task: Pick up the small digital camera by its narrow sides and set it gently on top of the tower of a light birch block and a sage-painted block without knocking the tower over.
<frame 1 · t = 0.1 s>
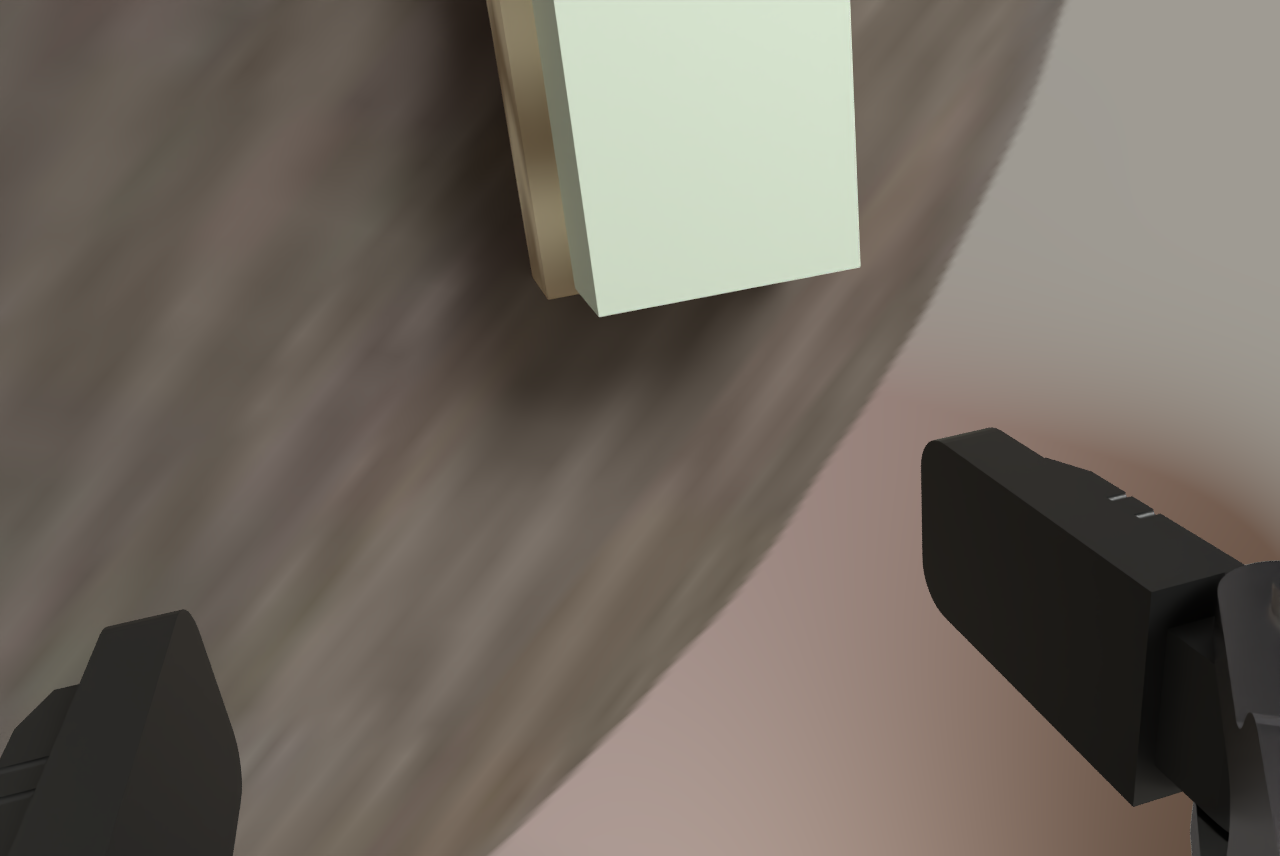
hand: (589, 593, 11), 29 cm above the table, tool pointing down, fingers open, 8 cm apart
block bottom: (647, 78, 38), on the table, touching block top
block top: (678, 92, 35), point 4 cm above the table, touching block bottom
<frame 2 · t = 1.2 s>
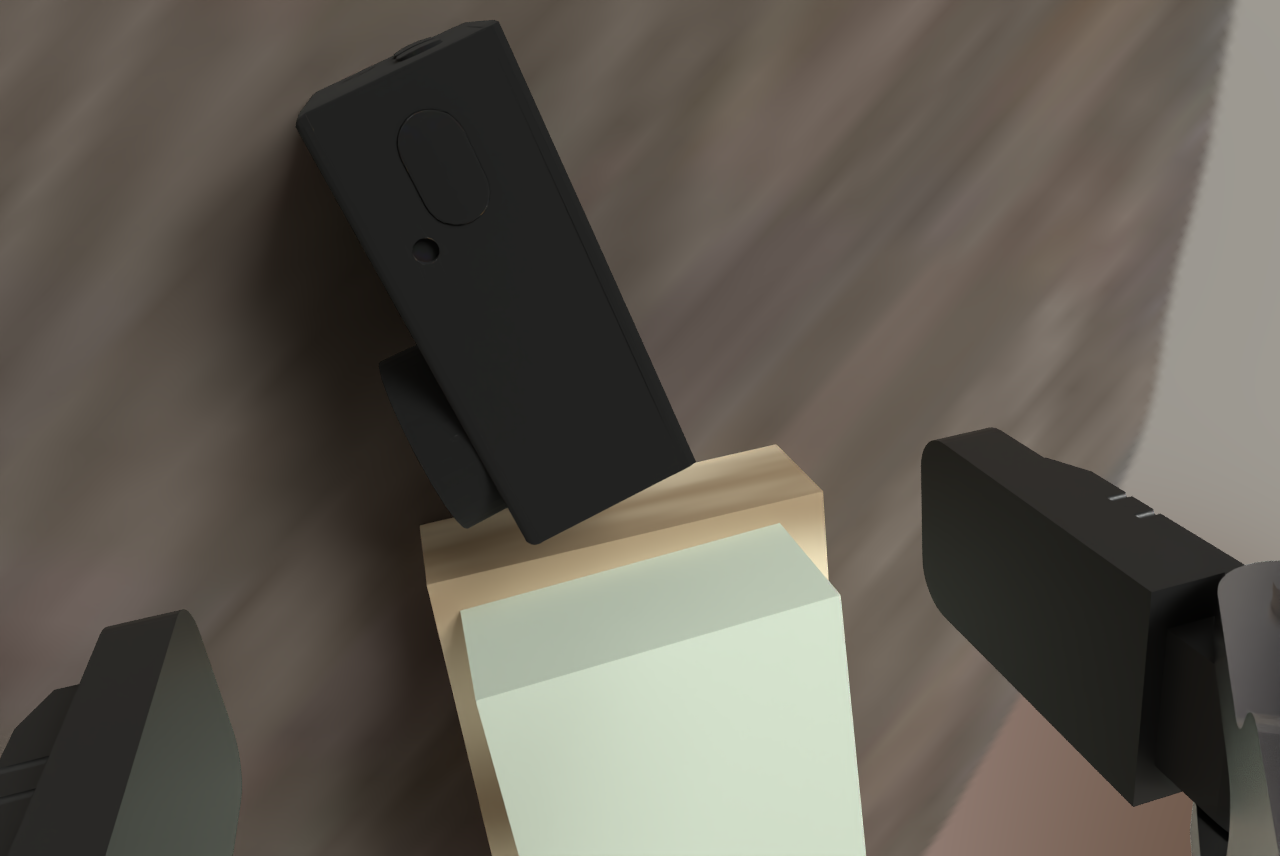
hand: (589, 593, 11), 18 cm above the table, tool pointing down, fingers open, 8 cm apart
block bottom: (628, 654, 34), on the table, touching block top
digital camera: (458, 252, 28), on the table
block top: (658, 739, 30), point 3 cm above the table, touching block bottom
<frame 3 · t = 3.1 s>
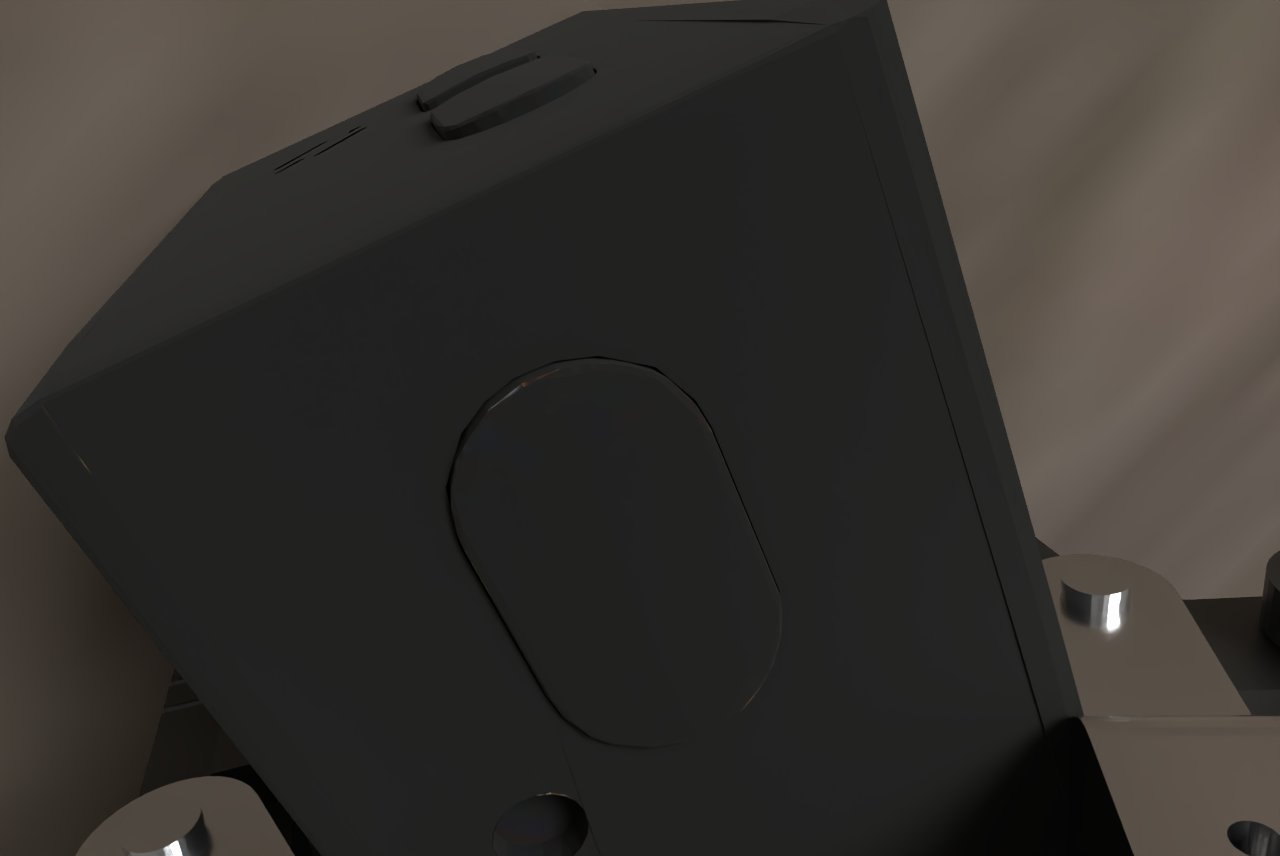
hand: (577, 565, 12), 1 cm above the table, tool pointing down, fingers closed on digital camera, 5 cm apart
digital camera: (544, 507, 13), on the table, touching gripper
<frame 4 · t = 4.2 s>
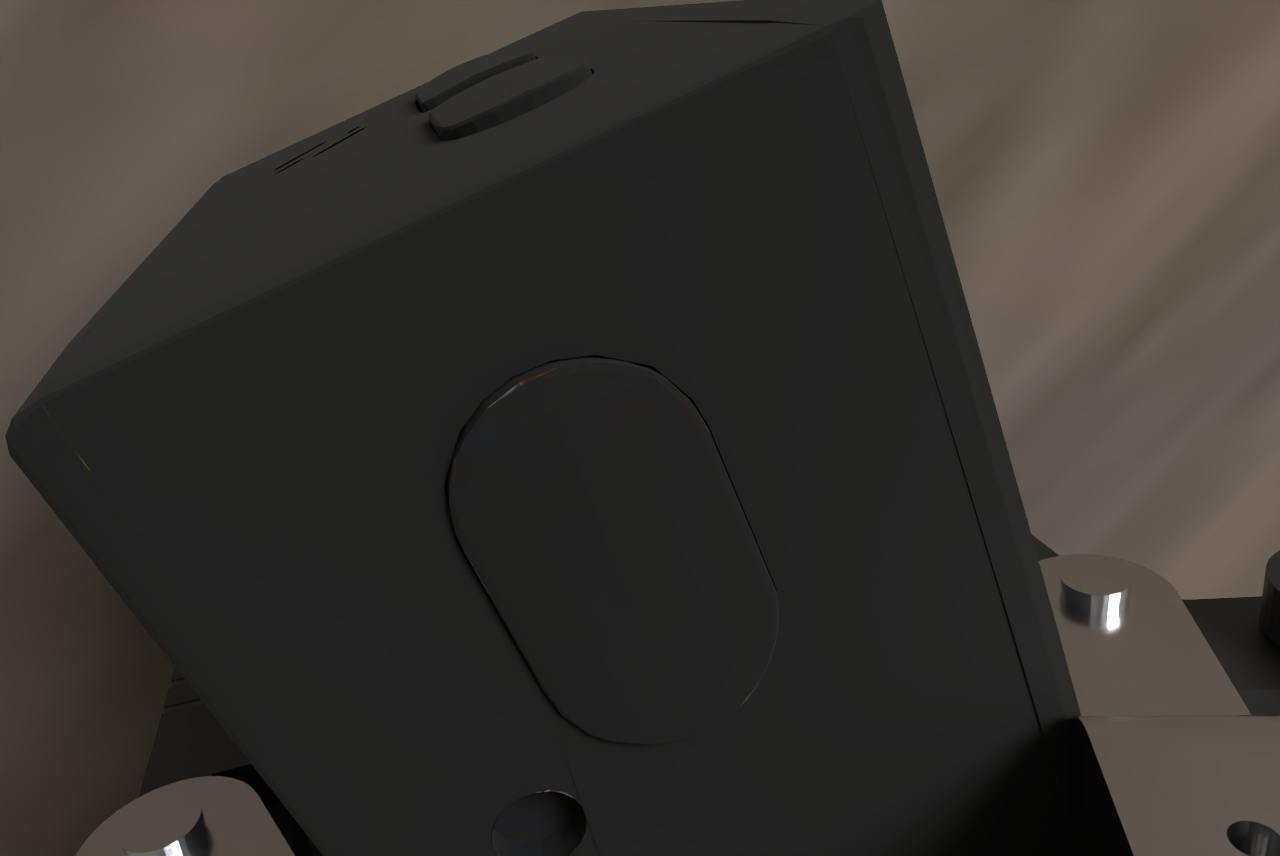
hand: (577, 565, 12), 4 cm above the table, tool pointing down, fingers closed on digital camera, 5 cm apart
digital camera: (543, 507, 13), point 3 cm above the table, touching gripper
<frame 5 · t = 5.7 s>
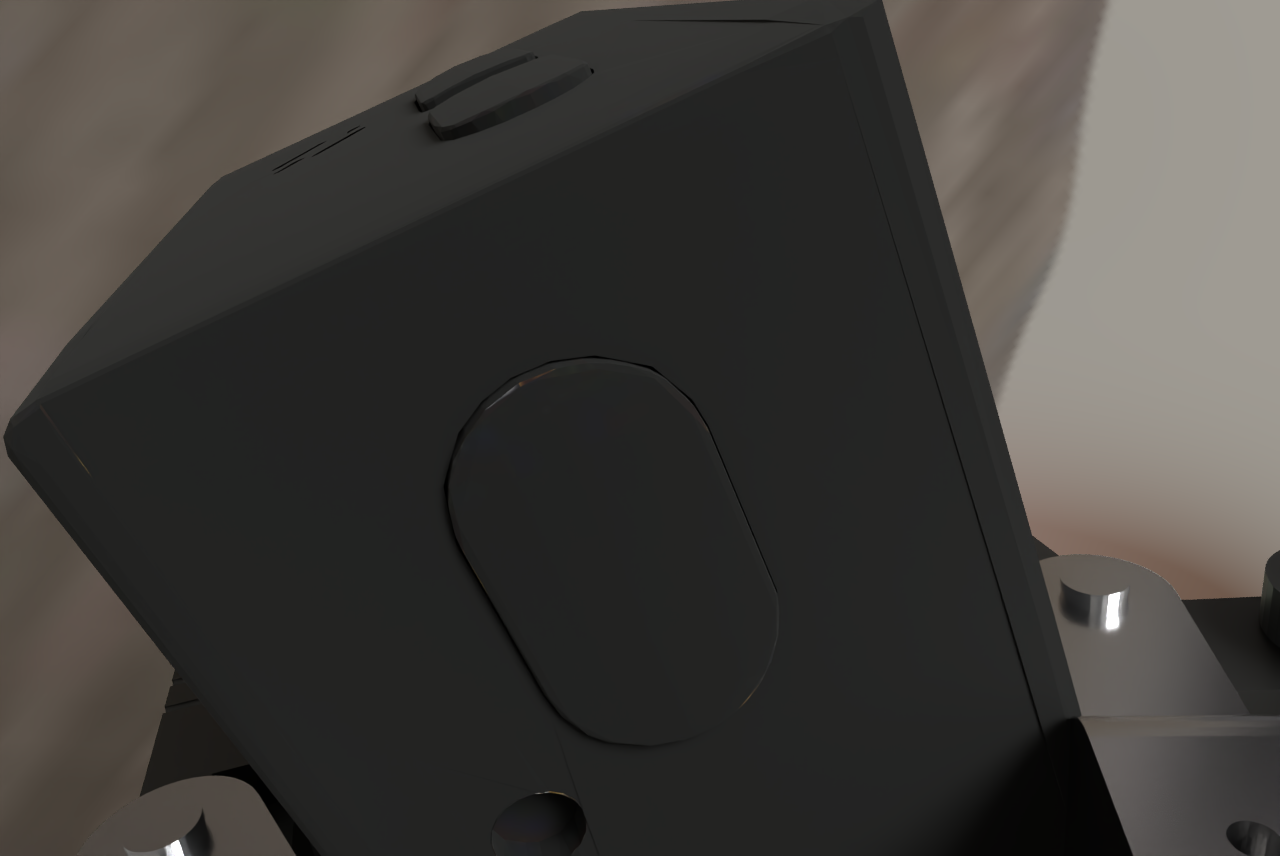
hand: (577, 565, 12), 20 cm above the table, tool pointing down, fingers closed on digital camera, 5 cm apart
digital camera: (543, 507, 13), point 19 cm above the table, touching gripper
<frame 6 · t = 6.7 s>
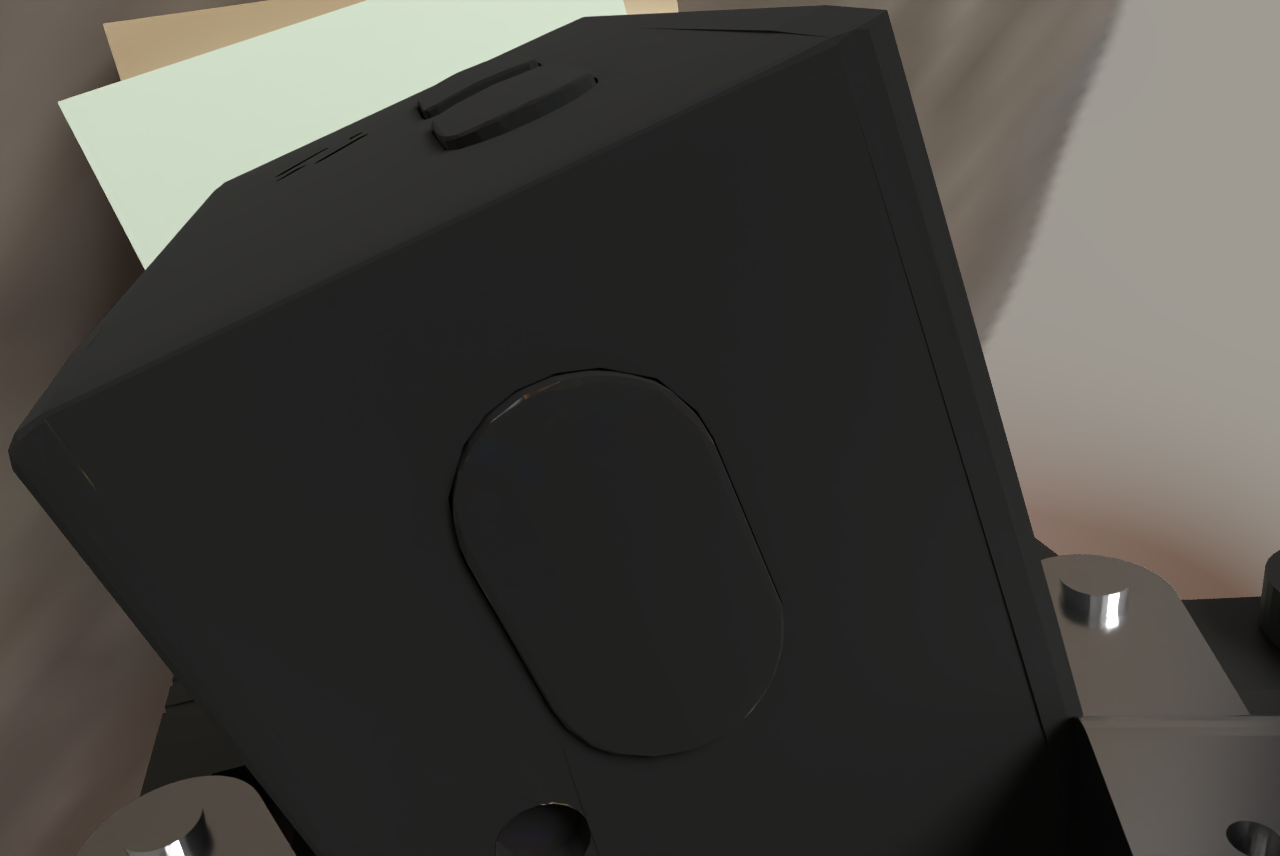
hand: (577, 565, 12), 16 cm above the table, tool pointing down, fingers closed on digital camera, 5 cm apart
block bottom: (451, 263, 26), on the table
digital camera: (545, 512, 13), point 14 cm above the table, touching gripper
block top: (453, 296, 23), point 4 cm above the table
when the fingers open (10 cm above the table, at t = 8.2 s): digital camera drops 2 cm, resting on block top.
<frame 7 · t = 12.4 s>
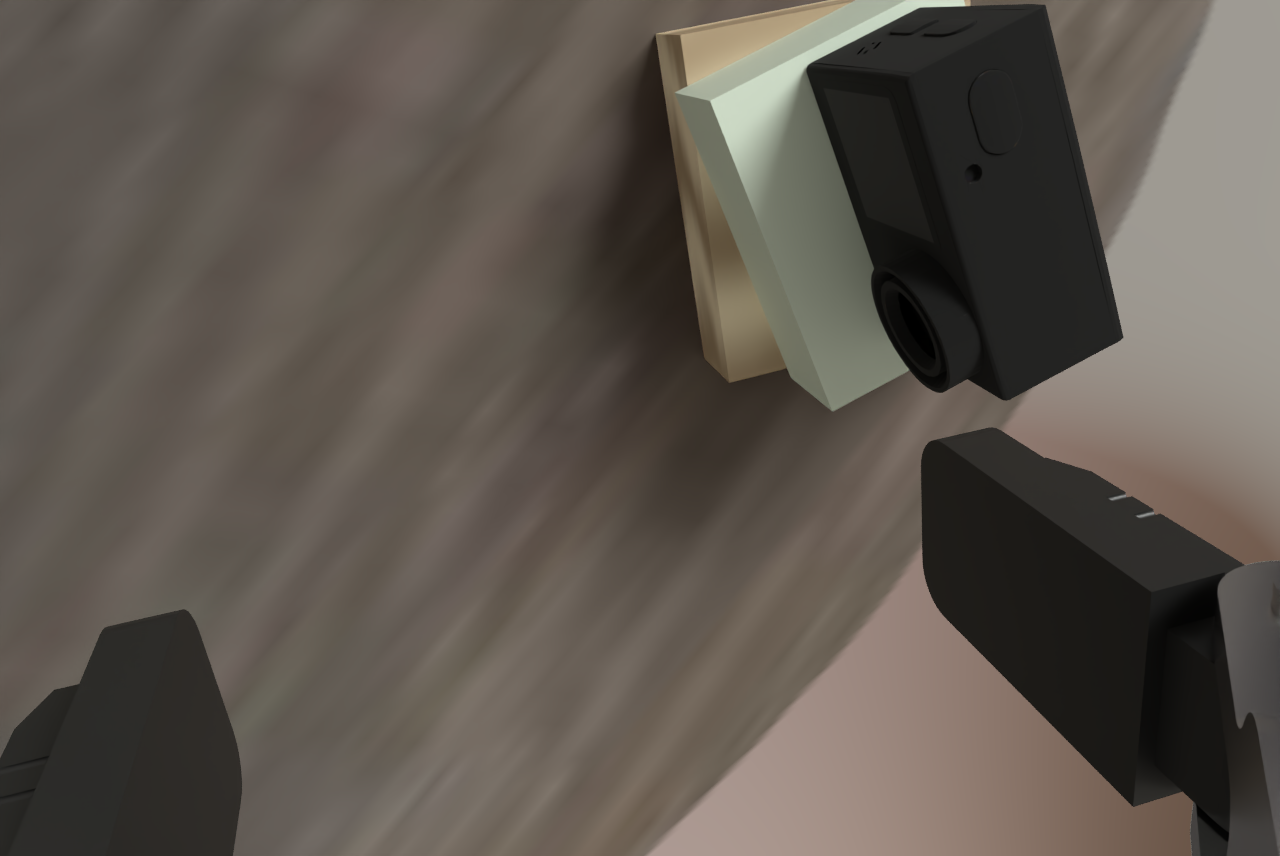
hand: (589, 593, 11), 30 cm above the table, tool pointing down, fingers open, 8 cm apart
block bottom: (803, 175, 43), on the table, touching block top
digital camera: (888, 188, 35), point 7 cm above the table, touching block top
block top: (841, 189, 39), point 3 cm above the table, touching block bottom, digital camera
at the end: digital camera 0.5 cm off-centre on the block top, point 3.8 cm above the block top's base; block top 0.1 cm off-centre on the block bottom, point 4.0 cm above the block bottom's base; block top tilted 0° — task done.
